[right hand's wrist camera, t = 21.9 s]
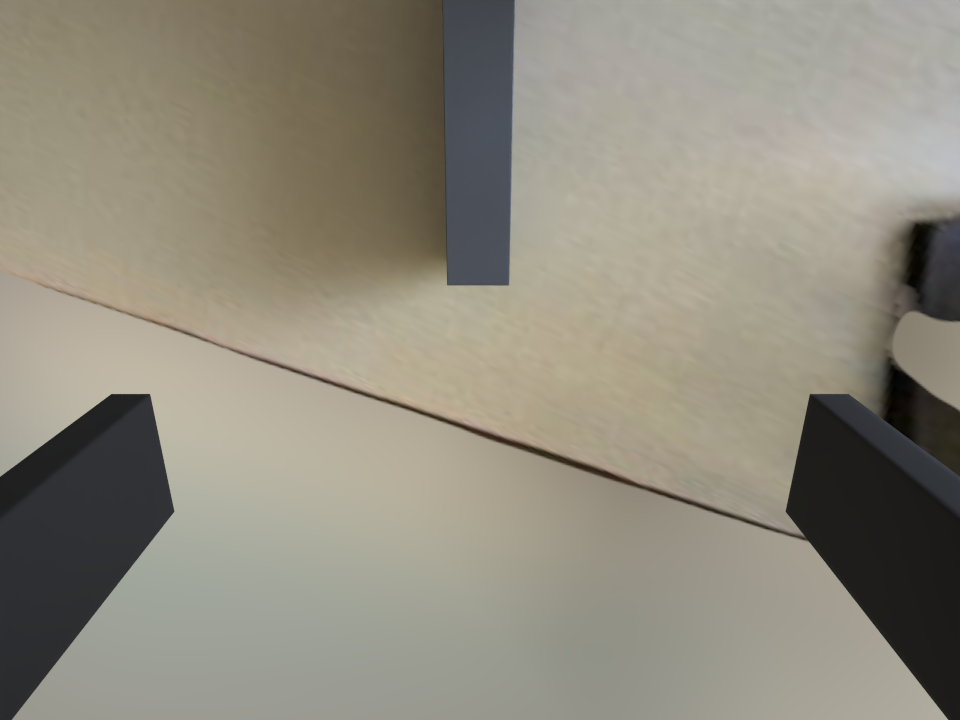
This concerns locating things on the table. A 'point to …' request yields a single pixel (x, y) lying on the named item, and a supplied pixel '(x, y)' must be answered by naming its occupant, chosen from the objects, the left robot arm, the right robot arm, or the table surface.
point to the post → (478, 138)
